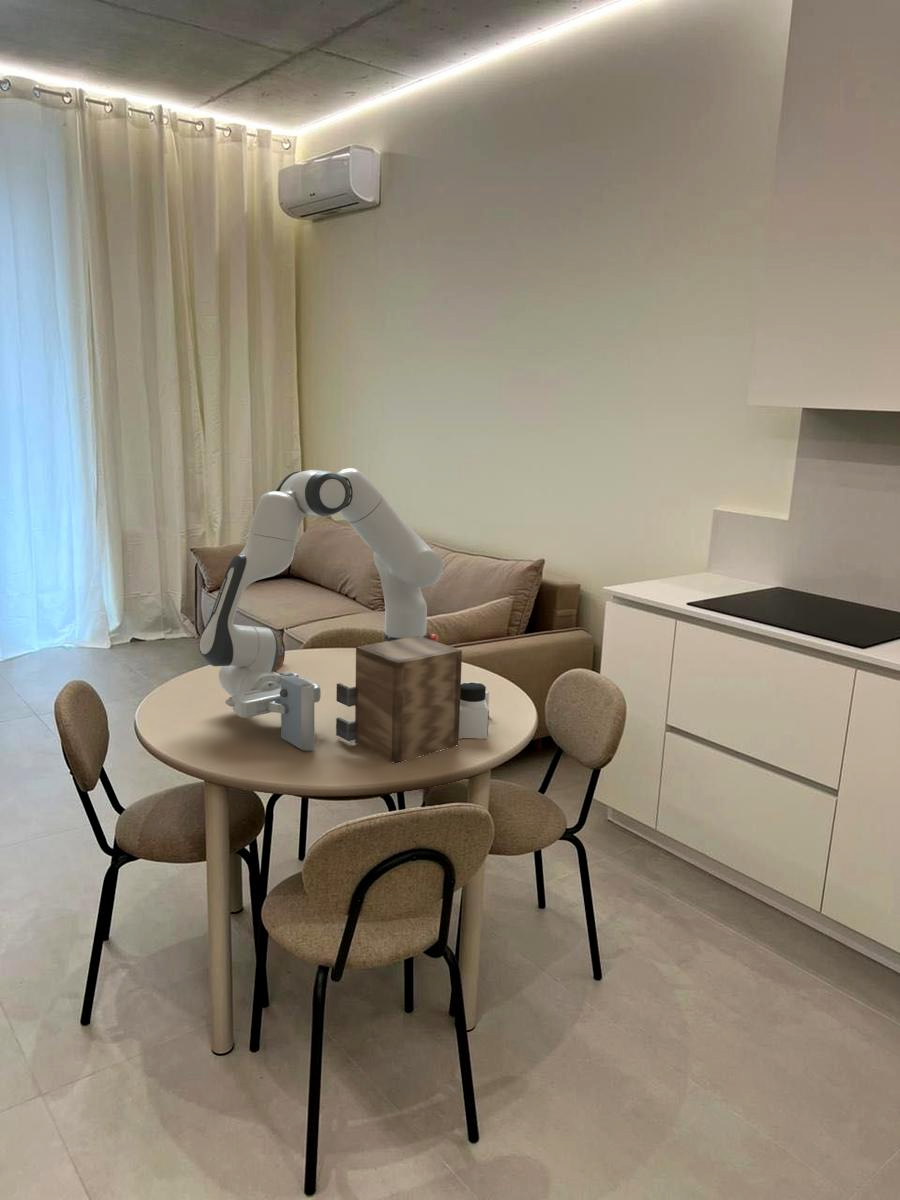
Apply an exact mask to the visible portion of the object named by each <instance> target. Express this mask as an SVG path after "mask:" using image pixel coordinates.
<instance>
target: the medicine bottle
mask: <svg viewBox="0 0 900 1200" xmlns="http://www.w3.org/2000/svg"><path fill="white" fill-rule="evenodd" d="M486 687H487V686H485V684H483V683H481V682H478V681H466V682H463V683H461V690H460V717H459V740H463V739H462V738H487V739H488V738H489V720H490V719H489V718H490V716H489V715H490V709H489V705H488V706H487V704H486V701H485V694H486V691H487V690H486V689H487V688H486Z"/></svg>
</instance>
